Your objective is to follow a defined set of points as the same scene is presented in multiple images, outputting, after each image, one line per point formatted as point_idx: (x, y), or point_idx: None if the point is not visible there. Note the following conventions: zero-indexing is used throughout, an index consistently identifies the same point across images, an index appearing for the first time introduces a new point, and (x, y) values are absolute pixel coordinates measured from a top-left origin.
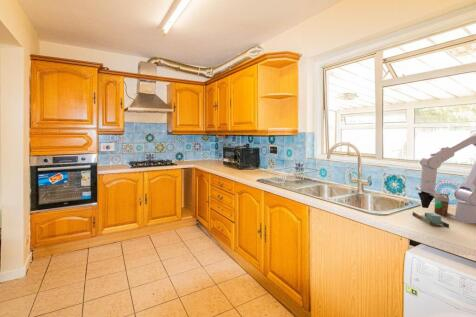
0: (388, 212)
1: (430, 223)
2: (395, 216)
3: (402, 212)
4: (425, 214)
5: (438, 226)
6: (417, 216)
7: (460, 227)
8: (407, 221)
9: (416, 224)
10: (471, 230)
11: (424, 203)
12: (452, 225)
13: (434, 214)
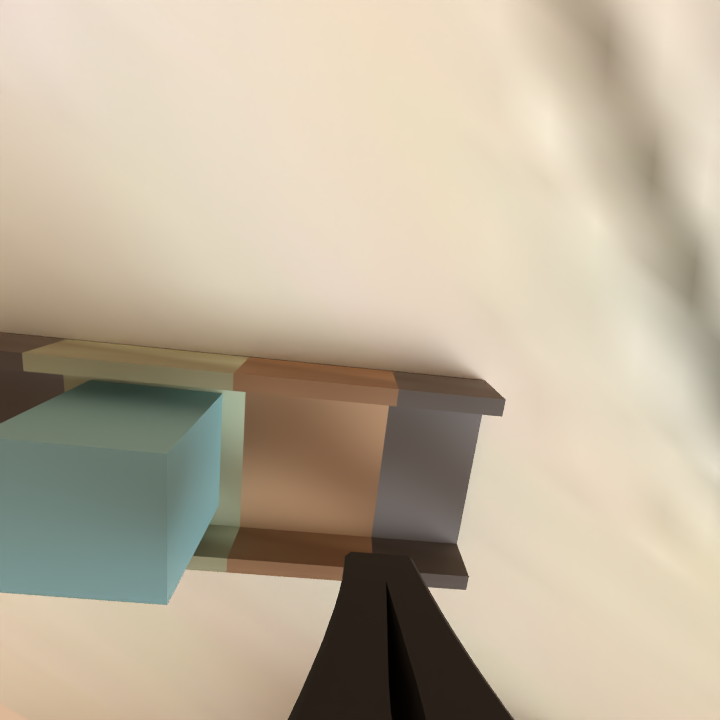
0: (657, 19)
1: (34, 345)
2: (432, 5)
3: (630, 317)
4: (445, 558)
5: (2, 412)
6: (360, 375)
7: (79, 666)
8: (179, 62)
9: (52, 130)
10: (5, 706)
11: (328, 654)
12: (132, 629)
13: (77, 535)
